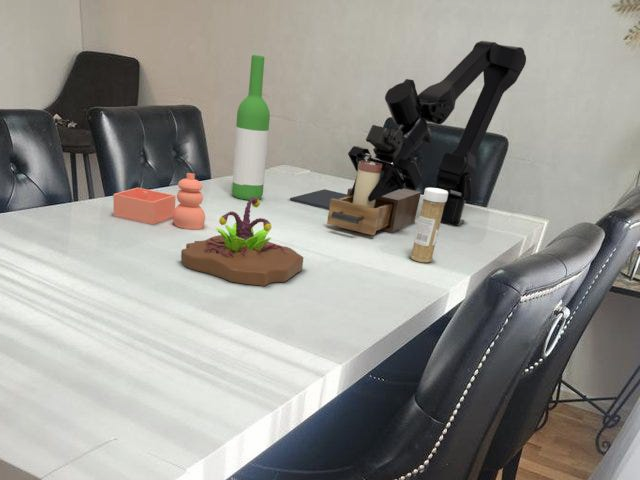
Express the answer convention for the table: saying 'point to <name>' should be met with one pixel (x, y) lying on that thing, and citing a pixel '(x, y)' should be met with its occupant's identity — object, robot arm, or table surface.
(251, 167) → the wine bottle
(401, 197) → the cabinet
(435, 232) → the spice jar
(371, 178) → the spice shaker
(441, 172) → the robot arm
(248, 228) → the plant
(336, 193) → the mat
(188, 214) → the pottery
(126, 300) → the table surface
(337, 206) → the drawer
